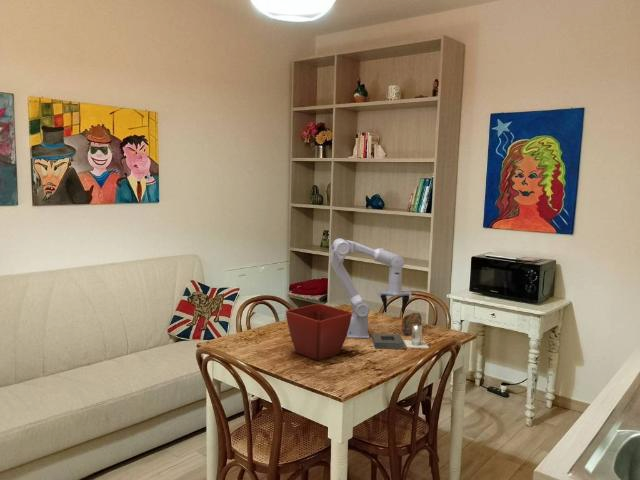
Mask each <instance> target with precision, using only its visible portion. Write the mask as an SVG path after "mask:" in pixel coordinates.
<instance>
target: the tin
mask: <svg viewBox="0 0 640 480" xmlns="http://www.w3.org/2000/svg"><path fill="white" fill-rule="evenodd" d="M413 324H420V325H422V316H421V313H420V312H411V313H409V314H407V315H404V317H403V318H402V321H401V329H402V330H401V331H402V333H403V335H409V336H410V335H411V336H412V327H413Z"/></svg>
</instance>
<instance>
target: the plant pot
mask: <svg viewBox="0 0 640 480" xmlns="http://www.w3.org/2000/svg"><path fill="white" fill-rule="evenodd" d="M285 313H286V314H285V315H286V322H287V327H288V330H289V335H290V338H291V342H292V345H293V348H294V350H295V352H296V353H297V354H300V355H302V356H305V357H308V358H310V359H312V360H316V361H320V360H324V359H327V358H329V357H334V356H336V355H339V354H340V353H341V351H342V349H343V346H344V343H345V341H346V338H347V333H348V329H349V326H350V322H351V317H352V313H353V312H350V311H347V310H344V309H340V308H336V307H333V306H330V305H326V304H322V303H316V304H310V305H306V306H302V307H297V308H292V309H288V310H285Z"/></svg>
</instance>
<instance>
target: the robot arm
mask: <svg viewBox="0 0 640 480" xmlns="http://www.w3.org/2000/svg"><path fill="white" fill-rule="evenodd" d="M355 252H357V253H360V254H363V255H366V256H370V257H372V259H373V261H375V262H377V263H381V264H383V265H385V266H389V267H388V269H389V270H388V288H387V290H378V291H377V295H378V297H380V299H381V301H382V305H383V310H384V313H385V314H386V313H387V303H388V302H387V301H388V298H387V297H401V299H402V300H401V313H403V314H404V313H405V309H406V306H407V304H408V303H409V301H410V298H411V297H412V291H407V290H402V286H403V285H402V282H403V267H404V265H405V261H404V259H403V257H401V256H400V255H398V254H397V253H395V252H393V251H391V252H390V251H387V250H385V248H383V247H381V248H378V247H377V248H376V249H374V248H371V247H368V246H366V245H363V244H362V243H358V242H356V241H353V240H349V239H348V240H347V239H343V238H341V237H339V238H336V239H335V240H333V242H332V244H331V246H330V261H329V262H330V266H331V267H332V269H333V271H334V273H335V274H336V276H337V278H338V280H339V282H340V283H341V285H342V287H343V289H344V291H345V292H346V295H347V297H348V298H349V301H350V303H351V309H352V312H351V313H352V317H351V322H350V326H349V329H348V333H347V336H346V338H350V339H355V338H357V339H369V338H370V334H369V313H370V311H371V310H370V306H369V305H368V304H367V303H366V302H365V301H364V299H363V298H362V297H361V295H360V293H359V291H358V290H357V288H356V286H355V285H354V282H353V281H352V279H351V277H350V275H349V273H348V271H347V269H346V268H345V266H344V264H343V263H344V261H345V258H346V257H347V256H348V254H349V253H355Z"/></svg>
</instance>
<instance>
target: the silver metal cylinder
mask: <svg viewBox="0 0 640 480" xmlns="http://www.w3.org/2000/svg"><path fill="white" fill-rule="evenodd" d="M422 333H423V325H422V324H421V325H420V324H413V327H412V334H411V340H412V342H411V344H412V345H416V346H419V345H421V341H422V338H423V337H422V335H423V334H422Z"/></svg>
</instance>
